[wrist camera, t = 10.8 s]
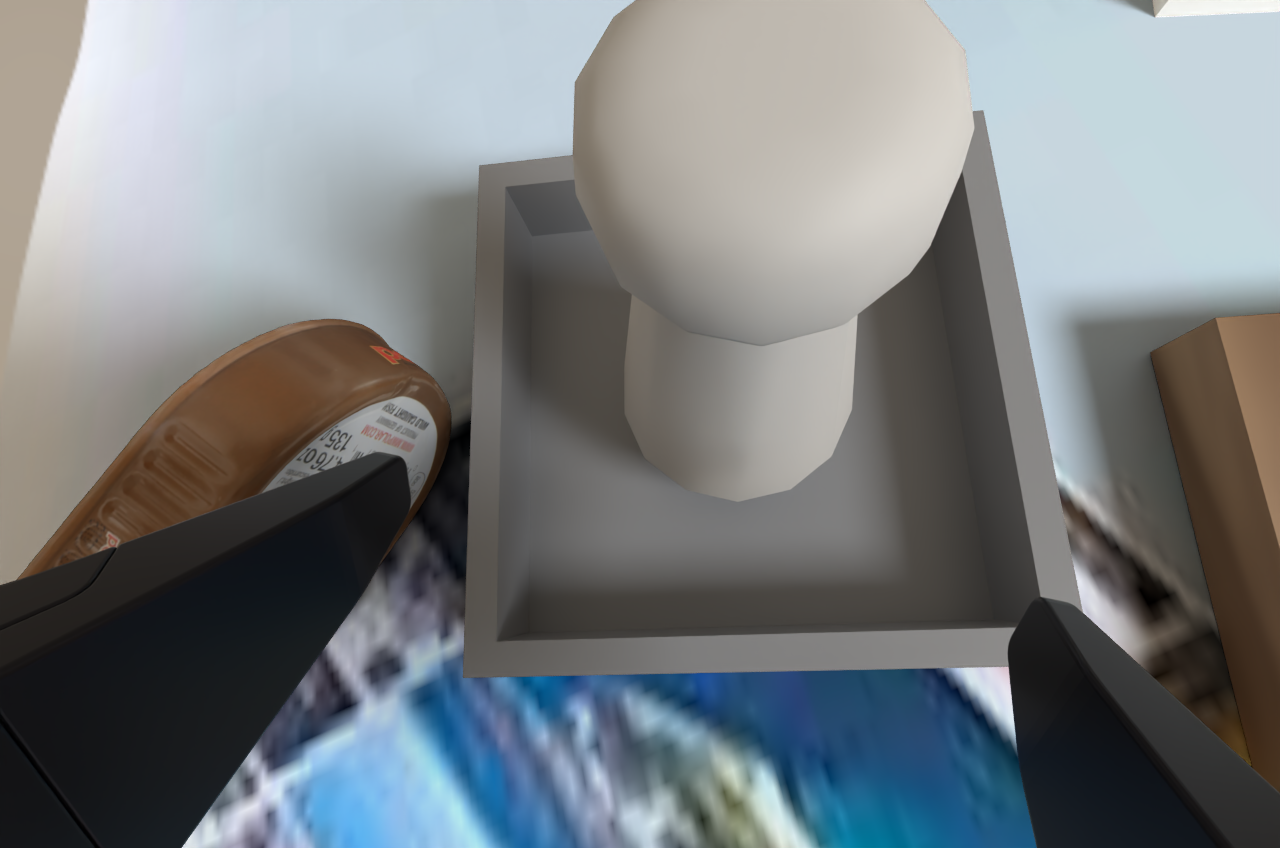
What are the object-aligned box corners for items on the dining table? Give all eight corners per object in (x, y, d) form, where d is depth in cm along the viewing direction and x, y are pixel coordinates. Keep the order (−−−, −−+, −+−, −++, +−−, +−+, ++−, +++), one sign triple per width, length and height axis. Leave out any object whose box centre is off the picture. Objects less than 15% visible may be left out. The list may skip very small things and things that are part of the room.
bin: (509, 659, 18) (462, 677, 15) (516, 229, 22) (479, 165, 18) (1017, 648, 17) (1093, 664, 14) (939, 188, 20) (982, 110, 17)
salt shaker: (595, 428, 19) (356, 127, 6) (713, 285, 20) (706, -241, 7) (754, 553, 17) (848, 483, 5) (876, 395, 18) (1228, -19, 6)
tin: (432, 373, 21) (251, 243, 13) (505, 423, 20) (363, 318, 12) (130, 779, 19) (-312, 929, 11) (199, 850, 18) (-217, 1067, 10)
